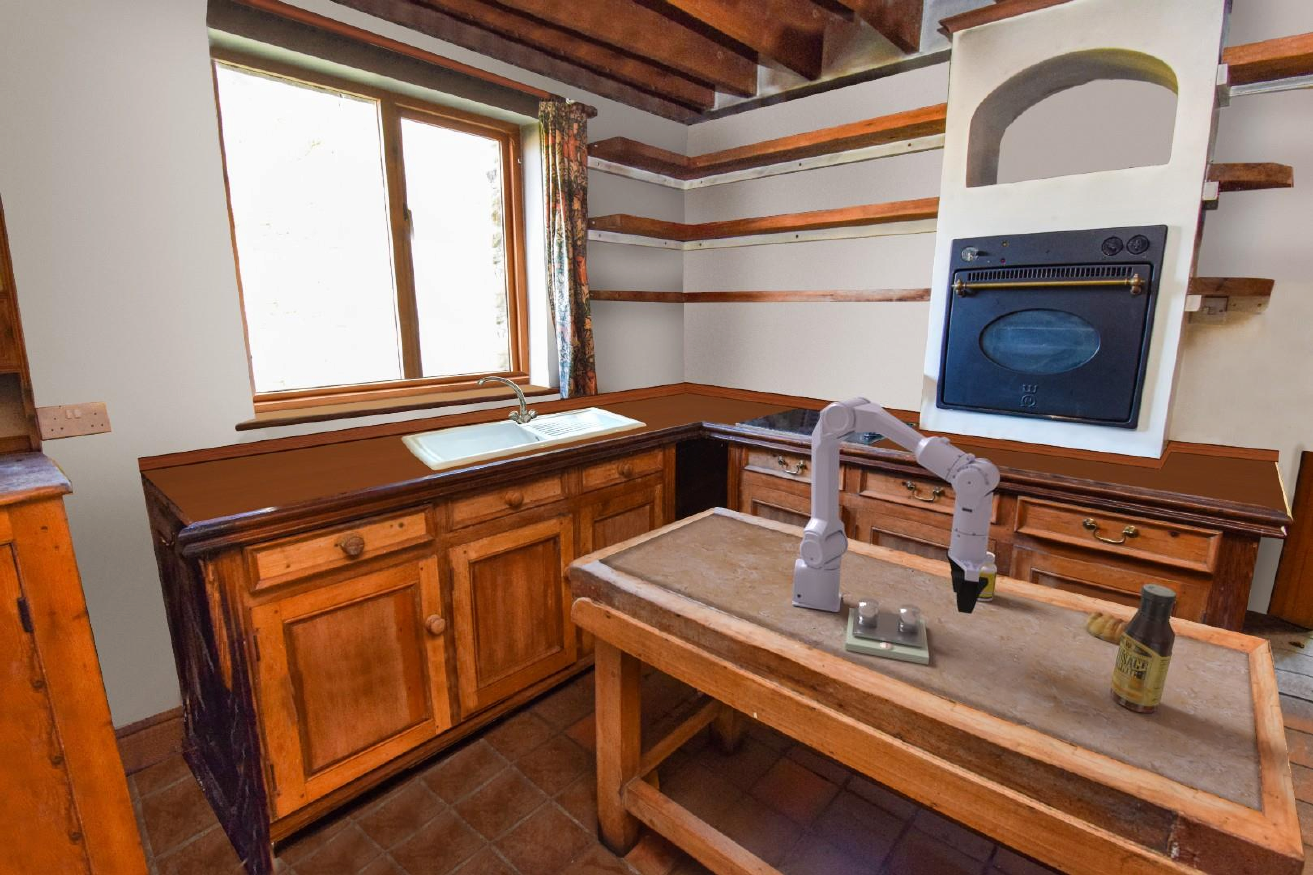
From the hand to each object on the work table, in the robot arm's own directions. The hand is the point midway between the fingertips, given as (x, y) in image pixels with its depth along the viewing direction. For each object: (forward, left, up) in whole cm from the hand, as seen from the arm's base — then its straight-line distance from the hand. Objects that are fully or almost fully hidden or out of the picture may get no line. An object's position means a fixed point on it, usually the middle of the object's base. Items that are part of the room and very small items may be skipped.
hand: (962, 601), depth 109 cm
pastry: (+29, +17, -11) cm, 35 cm away
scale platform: (-12, +2, -9) cm, 15 cm away
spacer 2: (-8, +2, -8) cm, 11 cm away
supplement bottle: (+7, +26, -10) cm, 29 cm away
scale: (-12, +2, -10) cm, 16 cm away
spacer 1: (-16, +2, -8) cm, 17 cm away
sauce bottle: (+25, -6, -10) cm, 28 cm away
